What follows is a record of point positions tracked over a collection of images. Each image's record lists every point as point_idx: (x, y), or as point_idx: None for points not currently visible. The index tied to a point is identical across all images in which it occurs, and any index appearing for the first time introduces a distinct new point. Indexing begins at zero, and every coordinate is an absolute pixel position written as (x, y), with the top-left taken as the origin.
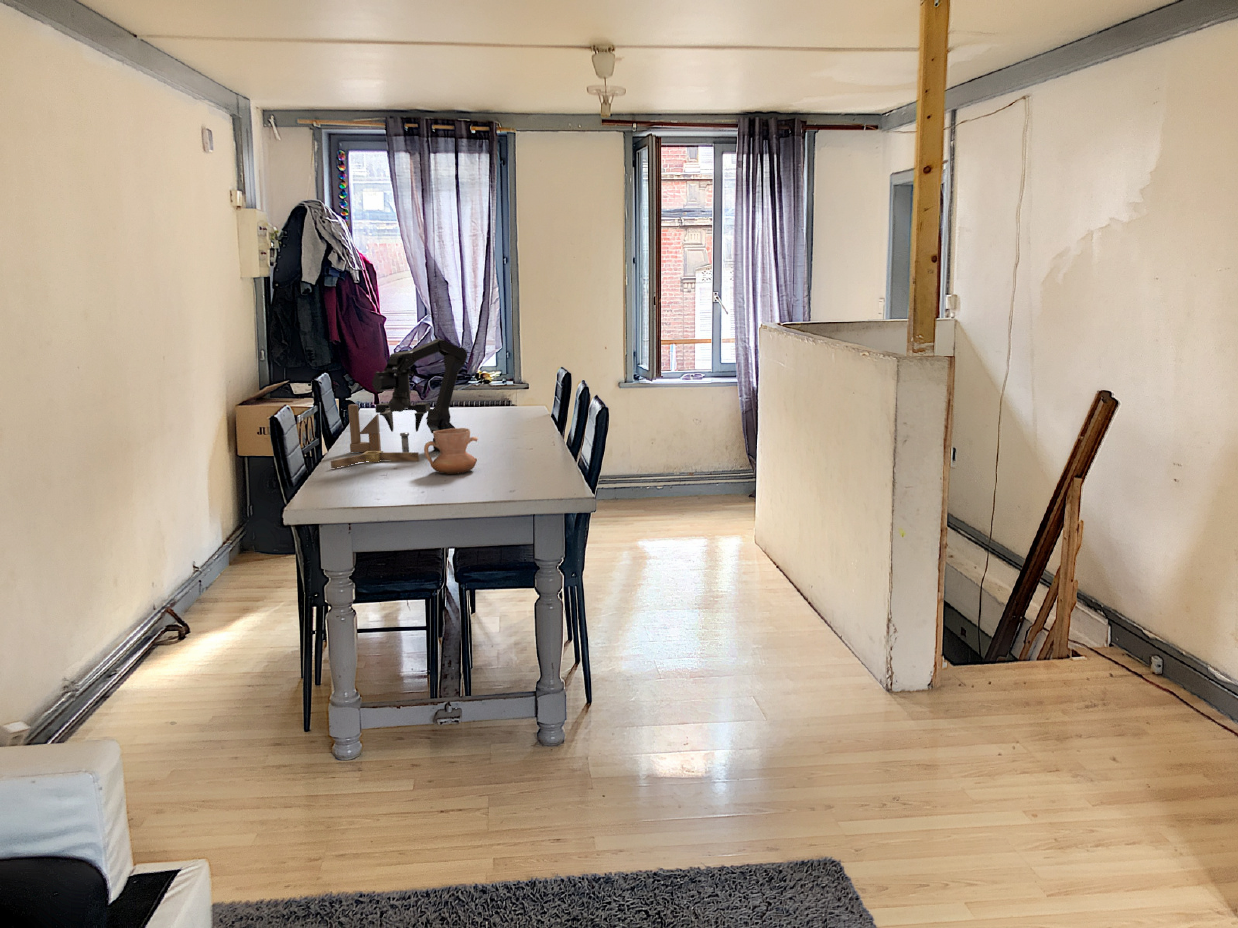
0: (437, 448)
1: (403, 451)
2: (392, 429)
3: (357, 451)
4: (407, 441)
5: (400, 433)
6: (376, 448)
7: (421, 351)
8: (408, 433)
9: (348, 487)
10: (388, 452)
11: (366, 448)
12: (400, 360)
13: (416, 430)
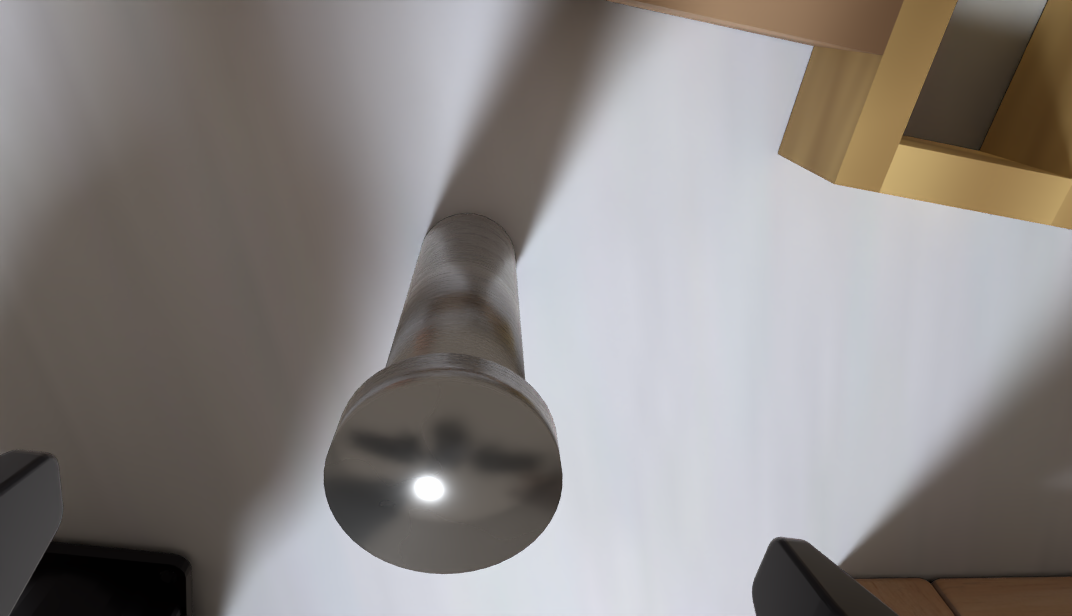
0: (129, 598)
1: (491, 252)
2: (789, 594)
3: (1068, 587)
4: (395, 342)
5: (548, 472)
6: None
7: None
8: (327, 454)
9: None
10: (736, 12)
11: (992, 614)
12: None
13: (7, 460)
